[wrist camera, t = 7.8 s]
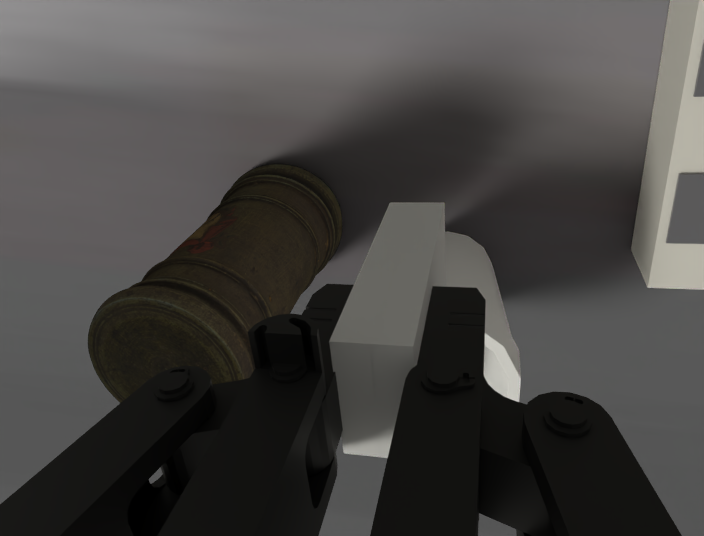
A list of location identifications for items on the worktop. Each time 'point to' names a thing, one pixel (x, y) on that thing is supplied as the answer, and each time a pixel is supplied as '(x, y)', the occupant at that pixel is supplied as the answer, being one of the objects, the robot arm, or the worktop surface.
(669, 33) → the switch panel
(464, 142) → the worktop surface
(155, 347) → the container
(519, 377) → the foam cup
